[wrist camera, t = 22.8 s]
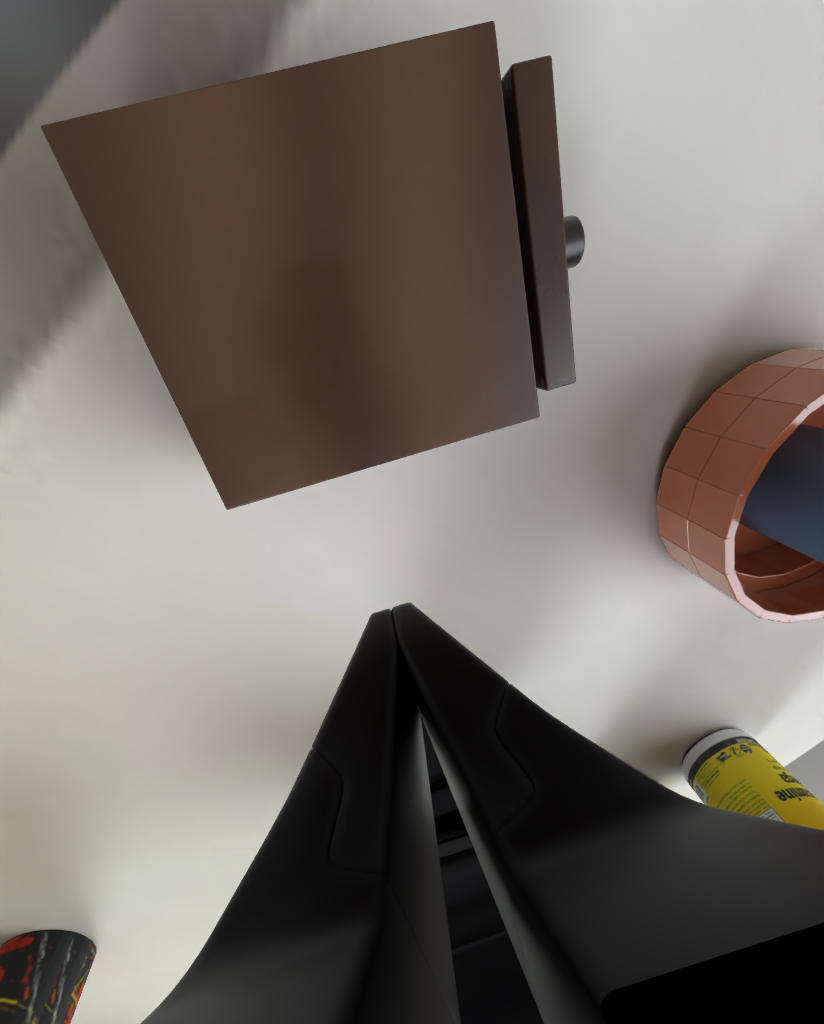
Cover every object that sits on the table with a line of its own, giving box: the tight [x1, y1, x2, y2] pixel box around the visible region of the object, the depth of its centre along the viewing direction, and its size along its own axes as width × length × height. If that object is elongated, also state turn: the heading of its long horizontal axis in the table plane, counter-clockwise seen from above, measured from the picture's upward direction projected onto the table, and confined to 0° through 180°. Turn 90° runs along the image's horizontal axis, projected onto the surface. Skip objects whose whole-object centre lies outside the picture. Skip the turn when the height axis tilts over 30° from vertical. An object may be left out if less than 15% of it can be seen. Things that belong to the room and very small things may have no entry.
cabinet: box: [41, 21, 539, 510], centre depth 15 cm, size 11×10×5 cm
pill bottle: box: [682, 729, 824, 830], centre depth 29 cm, size 6×6×11 cm
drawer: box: [501, 56, 585, 391], centre depth 15 cm, size 12×9×3 cm
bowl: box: [656, 347, 824, 623], centre depth 22 cm, size 13×13×5 cm
